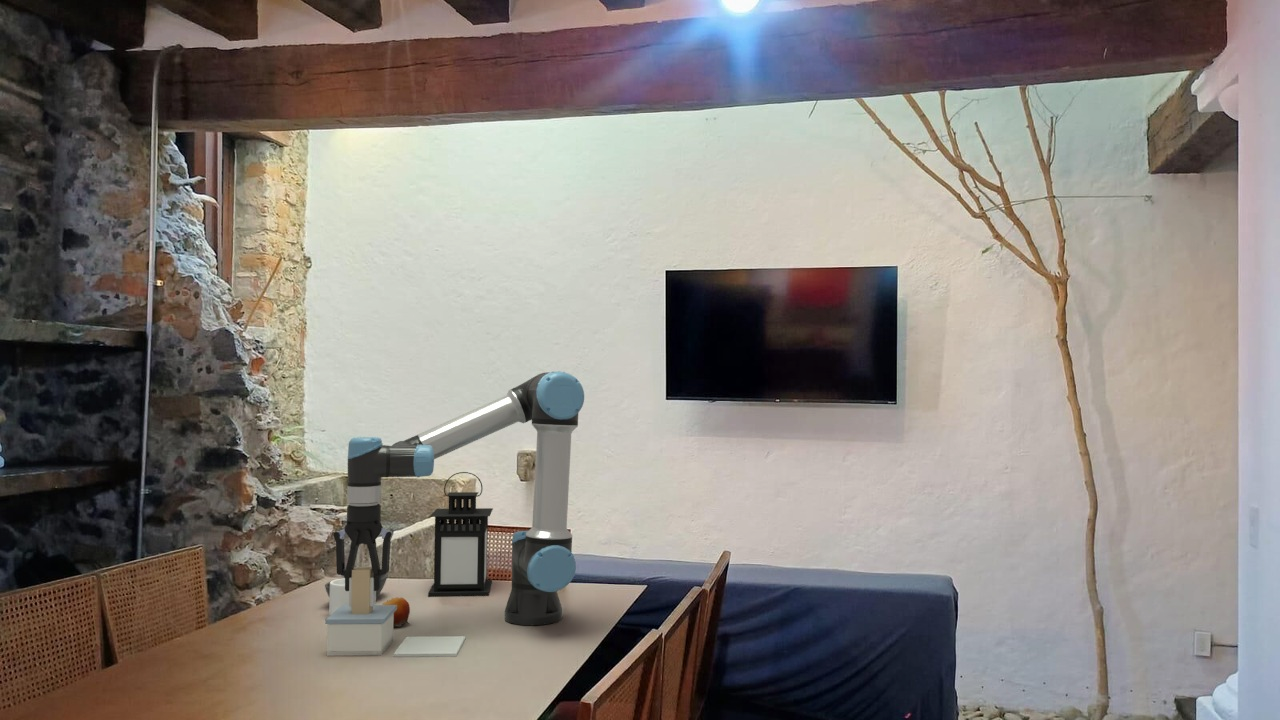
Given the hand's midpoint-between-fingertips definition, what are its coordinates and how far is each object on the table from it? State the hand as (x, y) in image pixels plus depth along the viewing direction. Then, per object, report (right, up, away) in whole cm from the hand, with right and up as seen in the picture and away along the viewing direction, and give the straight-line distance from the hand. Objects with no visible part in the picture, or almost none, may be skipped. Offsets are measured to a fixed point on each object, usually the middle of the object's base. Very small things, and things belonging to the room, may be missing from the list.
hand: (362, 604), depth 204 cm
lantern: (+11, -12, +60) cm, 62 cm away
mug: (-12, -11, +28) cm, 32 cm away
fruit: (+2, -11, +20) cm, 23 cm away
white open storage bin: (0, -10, 0) cm, 10 cm away
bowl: (-15, -12, +44) cm, 48 cm away
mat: (+16, -10, 0) cm, 19 cm away
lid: (0, -3, 0) cm, 3 cm away
